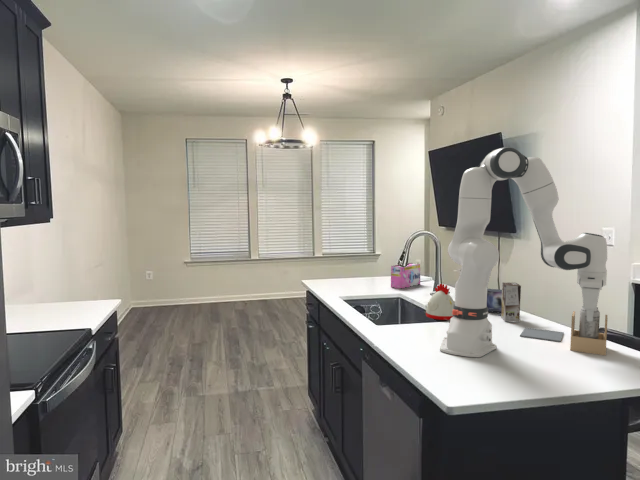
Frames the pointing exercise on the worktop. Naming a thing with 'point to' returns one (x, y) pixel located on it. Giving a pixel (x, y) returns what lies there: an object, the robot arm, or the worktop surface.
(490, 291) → the small box
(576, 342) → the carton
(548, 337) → the mat
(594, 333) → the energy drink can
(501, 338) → the worktop surface
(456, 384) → the worktop surface
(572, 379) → the worktop surface
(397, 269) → the gum box
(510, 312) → the coffee box
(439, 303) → the kitchen timer
